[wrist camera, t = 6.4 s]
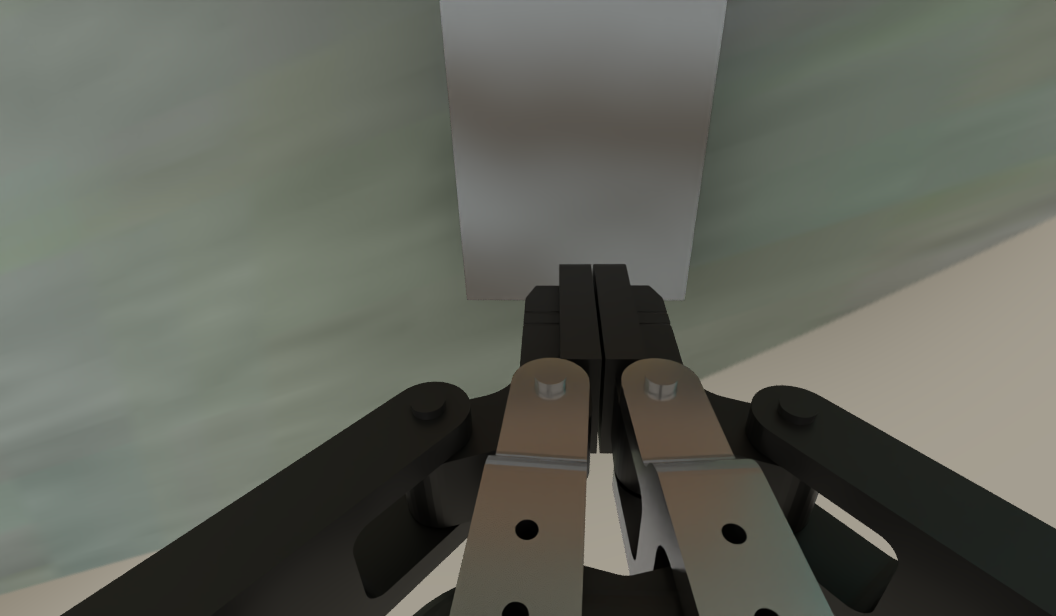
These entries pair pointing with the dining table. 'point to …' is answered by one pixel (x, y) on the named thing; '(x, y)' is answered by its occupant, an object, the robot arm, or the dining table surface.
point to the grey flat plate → (579, 136)
